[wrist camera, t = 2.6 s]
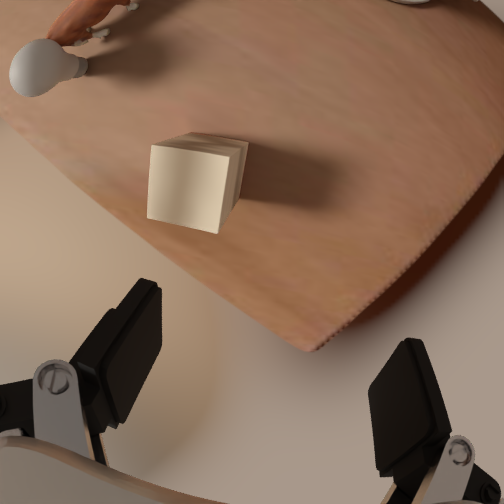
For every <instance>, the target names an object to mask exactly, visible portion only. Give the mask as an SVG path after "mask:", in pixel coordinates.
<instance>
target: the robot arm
mask: <svg viewBox="0 0 504 504" xmlns="http://www.w3.org/2000/svg"><path fill="white" fill-rule="evenodd" d="M391 1H394V2H398V3H405V4H420V3H426V2H428V1H430V0H391ZM473 1H474V2H477V1H479V0H473ZM161 346H162V289H161V288H160V287H158V285H157V283H156V282H154V281H151V280H147V279H144V278H140V279H139V280H138V281H137V282H136V284H135V285H134V286H133V287H132V289H131V290H130V291H129V292H128V294H127V295H126V296H125V298H124V299H123V300H122V301H121V303H120V304H119V305H118V307H117V308H116V309H113V308H111V309H109V311H107V312H106V314H105V315H104V316H103V317H102V319H101V320H100V321H99V323H98V324H97V325H96V326H95V328H94V329H93V330H92V332H91V333H90V334H89V336H88V337H87V338H86V340H85V341H84V342H83V344H82V345H81V346H80V348H79V349H78V351H77V352H76V353H75V355H74V356H73V357H72V359H71V360H70V362H69V363H68V362H65V361H63V360H55V359H54V360H49V361H46V362H45V363H42V364H41V365H40V366H39V367H38V368H37V369H36V371H35V373H34V377H33V379H28V380H23V381H18V382H14V383H8V384H3V385H0V504H227V503H221V502H217V501H212V500H208V499H204V498H199V497H195V496H191V495H187V494H184V493H181V492H177V491H174V490H170V489H167V488H164V487H161V486H158V485H155V484H152V483H149V482H146V481H143V480H140V479H138V478H135V477H132V476H130V475H127V474H124V473H122V472H119V471H117V470H114V469H112V468H110V466H109V463H108V459H107V456H106V451H105V447H104V443H103V439H102V434H101V433H103V432H105V430H106V428H107V426H110V427H112V428H114V429H117V427H118V425H119V423H122V424H123V423H124V422H125V421H126V419H127V417H128V415H129V413H130V411H131V409H132V407H133V404H134V402H135V400H136V398H137V396H138V394H139V392H140V390H141V388H142V386H143V384H144V382H145V380H146V378H147V376H148V374H149V372H150V370H151V368H152V366H153V364H154V362H155V360H156V358H157V356H158V354H159V352H160V350H161ZM368 397H369V405H370V413H371V421H372V429H373V439H374V450H375V461H376V468H377V470H379V472H380V477H392V476H393V479H394V482H393V484H392V486H391V488H390V489H389V491H388V492H387V494H386V496H385V497H384V499H383V501H382V502H381V504H504V499H503V498H502V499H500V498H501V490H500V486H499V484H498V483H497V481H495V480H494V479H493V478H492V477H491V476H490V475H488V474H487V473H486V472H485V471H483V470H482V469H481V468H480V467H478V466H477V465H476V464H475V463H474V460H475V450H474V447H473V445H472V443H471V442H470V441H469V440H468V439H467V438H466V437H464V436H461V435H455V436H452V437H451V438H450V433H451V432H452V429H451V425H450V421H449V418H448V414H447V411H446V408H445V404H444V401H443V398H442V395H441V391H440V388H439V385H438V383H437V379H436V376H435V374H434V371H433V368H432V365H431V362H430V359H429V357H428V354H427V351H426V349H425V346H424V343H423V341H422V340H421V339H415V338H406V339H405V340H404V341H401V342H400V343H399V345H398V346H397V348H396V349H395V351H394V352H393V354H392V355H391V357H390V358H389V360H388V361H387V363H386V364H385V366H384V367H383V368H382V370H381V371H380V373H379V374H378V375H377V377H376V378H375V380H374V381H373V382H372V384H371V385H370V387H369V390H368Z"/></svg>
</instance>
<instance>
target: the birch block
mask: <svg viewBox="0 0 504 504" xmlns="http://www.w3.org/2000/svg"><path fill="white" fill-rule="evenodd" d="M248 146H249V142H246V141H241V140H235V139H230V138H224V137H218V136H212V135H205V134H198V133H188V134H184V135H181V136H178V137H174V138H171V139H168V140H165V141H162V142H159V143H156V144H153V145H152V148H151V159H150V172H149V187H148V207H147V218H149V219H154V220H158V221H163V222H167V223H172V224H176V225H181V226H185V227H190V228H194V229H199V230H203V231H208V232H212V233H217V234H218V232H219V231H220V229H221V227H222V226H223V224H224V222H225V221H226V219H227V217H228V216H229V214H230V212H231V211H232V209H233V207H234V206H235V204H236V202H237V201H238V199H239V195H240V190H241V184H242V179H243V173H244V168H245V162H246V157H247V151H248Z"/></svg>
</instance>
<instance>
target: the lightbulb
mask: <svg viewBox="0 0 504 504" xmlns="http://www.w3.org/2000/svg"><path fill="white" fill-rule="evenodd" d="M87 68H88V62H87V60H86V59H85V58H82V57H77V56H75V55H74V54H69V53H66V52H65V51H64V50H63V48H62V47H61V46H60V45H59V44H58V43H57V42H55V41H53V40H51V39H37V40H34V41H32V42H29V43H28V44H26V45H25V46H24V47H22V48H21V49H20V50H19V52H18V53H17V54H16V55H15V57H14V59H13V61H12V63H11V67H10V73H9V76H10V83H11V85H12V87H13V88H14V90H15V91H16V92H18V93H19V94H21V95H23V96H27V97H35V96H39V95H42V94H44V93H46V92H48V91H49V90H50V89H52V88H53V87H54V86H55V85H56V84H58V83H59V82H61V81H66V80H69V79H71V78H78V77H81V76H83V75H84V74H85V73H86V71H87Z"/></svg>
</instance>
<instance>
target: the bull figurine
mask: <svg viewBox="0 0 504 504" xmlns="http://www.w3.org/2000/svg"><path fill="white" fill-rule="evenodd" d="M130 2H131V1H130V0H73V2H72V3H71V4H70V5H69V6H68V7H67V8H66V9H65V10H64V11H63V12H62V13H61V14H60V15H59V17H58V18H57V19H56V20H55V22H54V23H53V24H52V25H51V27H50V29H49V31H48V34H47V36H46V38H45V39H51V40H53V41H55V42H57V43H58V44H59V45H60V46H61V47H62V46H81V45H84V44H86V43H87V42H88V39H90V38H94V37H96V38H101V37H102V36H107V35H108V34H109V33H110V29H109V28H106V29H103V30H101V31H98V32H94V33H90V30H91V28H90V27H92V26H94V25H96V24H98V23H99V22H101V21H102V20H103V19H104V18H105V17H106V16H107V15H108V13H109V12H110V10H111V9H112V8H113V7H114V6H115V5H116V4H117V5H123V6H126V8H127V10H128V11H130V10H136V9H138V7H139V4H138V3H130Z"/></svg>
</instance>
